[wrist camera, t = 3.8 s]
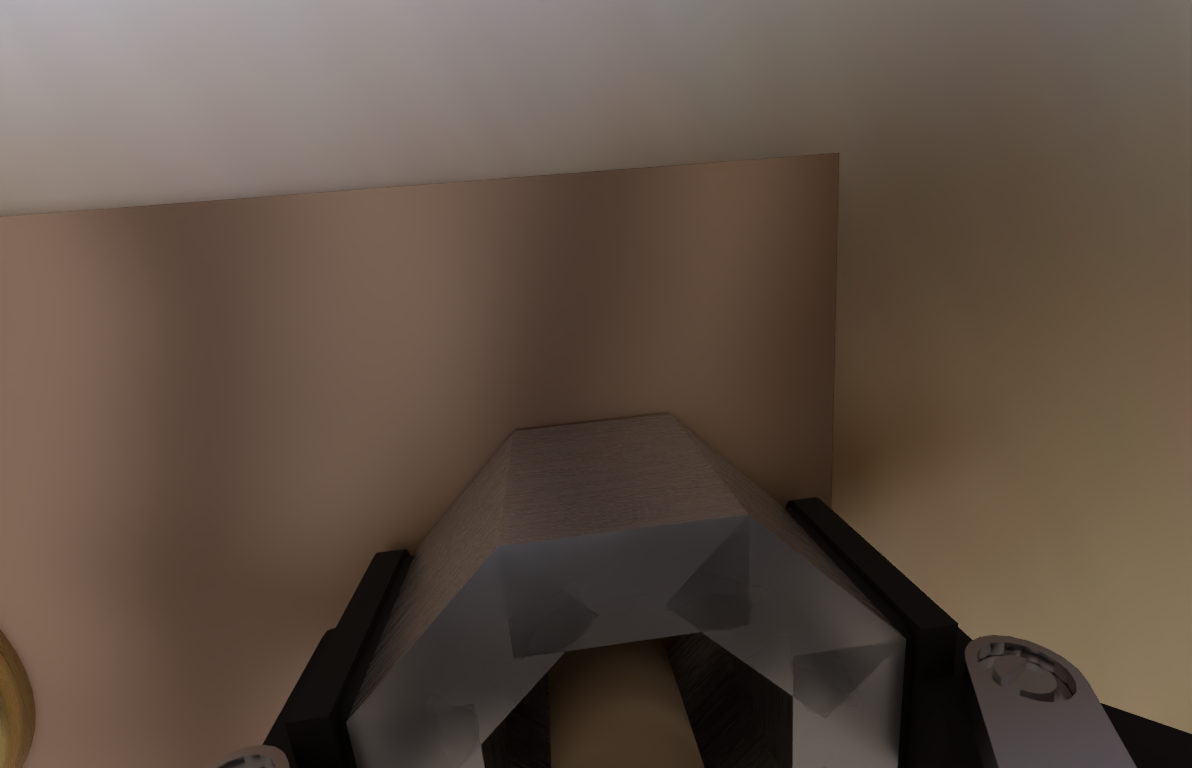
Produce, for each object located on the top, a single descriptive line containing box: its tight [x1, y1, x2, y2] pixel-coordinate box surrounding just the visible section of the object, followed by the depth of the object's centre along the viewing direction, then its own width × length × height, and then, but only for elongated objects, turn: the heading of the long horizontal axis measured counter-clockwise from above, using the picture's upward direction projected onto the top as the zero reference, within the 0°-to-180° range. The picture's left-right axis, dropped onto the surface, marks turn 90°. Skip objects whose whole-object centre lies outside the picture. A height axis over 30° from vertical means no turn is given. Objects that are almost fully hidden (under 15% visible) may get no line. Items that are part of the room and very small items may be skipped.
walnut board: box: [0, 153, 839, 768], centre depth 11 cm, size 24×16×1 cm, turn 95°
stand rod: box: [548, 638, 704, 768], centre depth 9 cm, size 2×2×5 cm
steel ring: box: [346, 413, 906, 768], centre depth 9 cm, size 7×7×4 cm
